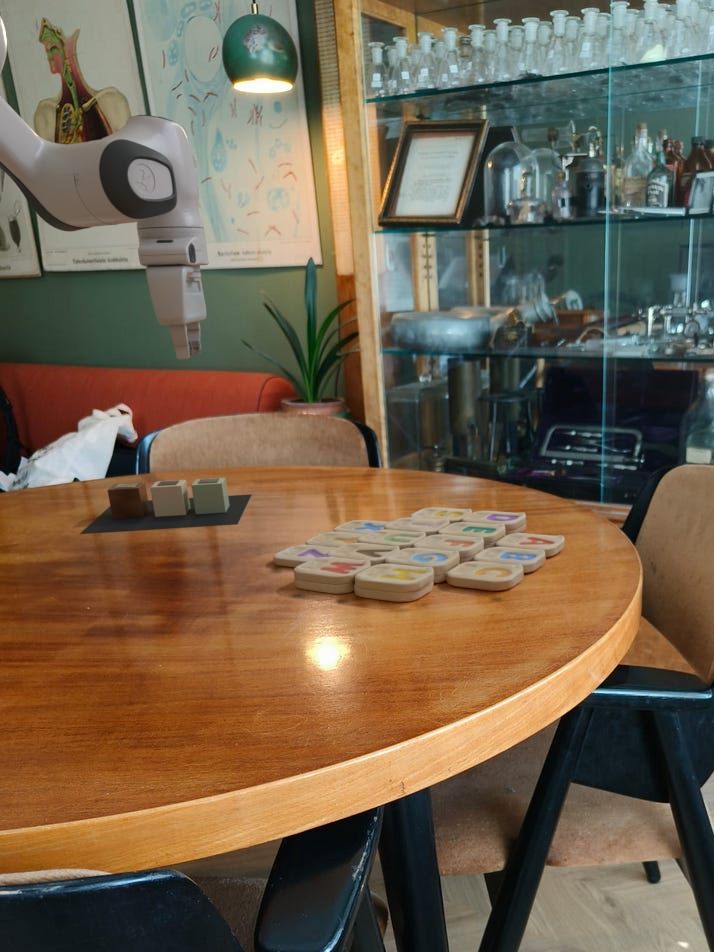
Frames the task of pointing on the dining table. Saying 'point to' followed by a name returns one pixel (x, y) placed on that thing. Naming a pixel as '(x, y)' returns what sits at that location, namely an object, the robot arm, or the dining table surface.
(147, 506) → the dark chocolate cube
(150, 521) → the word mat
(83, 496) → the dining table surface
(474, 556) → the alphabet tiles
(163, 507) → the beige hollow cube
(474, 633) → the dining table surface
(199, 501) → the olive open-top cube
